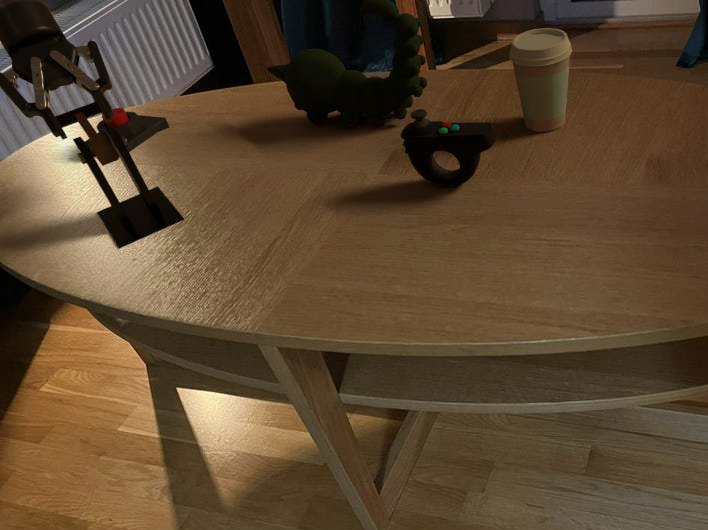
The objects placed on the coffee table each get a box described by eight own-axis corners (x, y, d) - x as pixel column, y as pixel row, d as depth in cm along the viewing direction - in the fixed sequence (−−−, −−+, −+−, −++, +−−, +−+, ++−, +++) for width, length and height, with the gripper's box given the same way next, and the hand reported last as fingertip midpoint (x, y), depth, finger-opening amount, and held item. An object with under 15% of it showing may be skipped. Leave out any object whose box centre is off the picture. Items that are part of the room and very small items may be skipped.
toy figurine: (436, 113, 113) (291, 106, 117) (424, -13, 100) (261, -17, 104) (421, 142, 107) (268, 133, 111) (407, 11, 93) (233, 6, 97)
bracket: (100, 219, 100) (50, 135, 91) (161, 193, 103) (118, 110, 94) (123, 254, 92) (70, 167, 83) (187, 225, 95) (143, 138, 86)
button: (118, 129, 112) (112, 119, 111) (102, 127, 114) (96, 117, 112) (134, 118, 114) (128, 108, 113) (118, 117, 116) (113, 107, 115)
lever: (61, 127, 96) (52, 111, 94) (100, 112, 98) (92, 96, 96) (89, 171, 89) (80, 155, 87) (131, 154, 91) (123, 138, 89)
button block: (124, 163, 111) (112, 139, 109) (85, 157, 115) (72, 135, 112) (171, 129, 118) (160, 107, 115) (132, 125, 122) (121, 103, 119)
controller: (418, 174, 97) (403, 104, 90) (504, 175, 94) (496, 103, 87) (408, 191, 94) (392, 120, 87) (497, 192, 91) (488, 119, 84)
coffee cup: (586, 123, 101) (584, 37, 92) (535, 143, 99) (528, 57, 90) (554, 103, 107) (549, 21, 98) (505, 121, 104) (496, 39, 96)
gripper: (-47, 18, 88) (25, 136, 89) (67, -17, 93) (134, 96, 94) (-27, 50, 95) (40, 159, 97) (79, 16, 100) (141, 120, 101)
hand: (86, 127), depth 95 cm, fingers closed on lever, 5 cm apart
